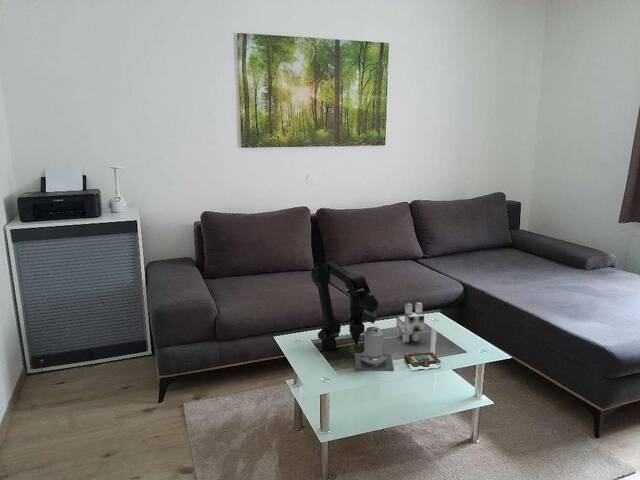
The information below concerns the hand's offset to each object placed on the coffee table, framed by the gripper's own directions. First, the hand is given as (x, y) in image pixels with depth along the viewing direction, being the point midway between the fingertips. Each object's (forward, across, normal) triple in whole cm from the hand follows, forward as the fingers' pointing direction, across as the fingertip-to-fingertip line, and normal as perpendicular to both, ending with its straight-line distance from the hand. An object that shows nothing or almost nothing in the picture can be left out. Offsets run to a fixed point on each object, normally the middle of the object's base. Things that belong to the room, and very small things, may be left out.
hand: (356, 339), depth 210 cm
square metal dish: (+10, 0, -8) cm, 13 cm away
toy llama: (+11, +26, -26) cm, 38 cm away
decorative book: (+11, -3, -26) cm, 29 cm away
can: (+7, 0, -8) cm, 10 cm away
